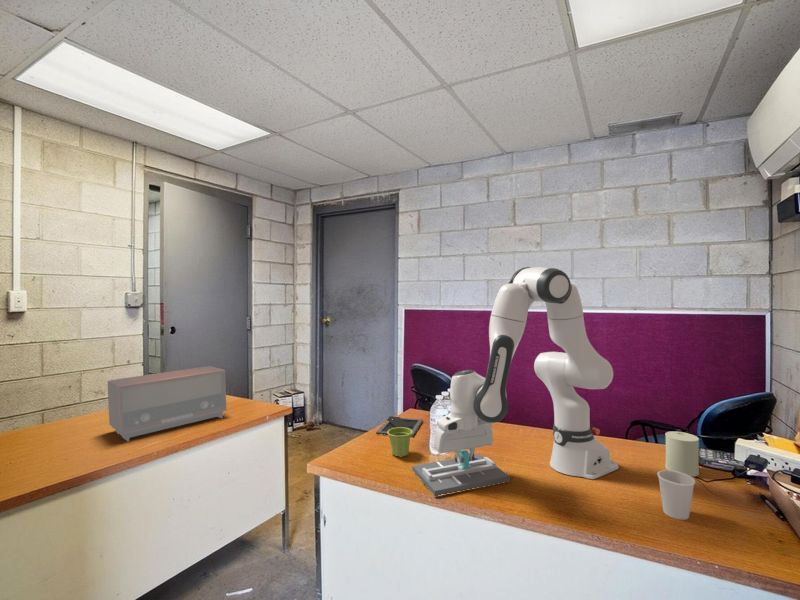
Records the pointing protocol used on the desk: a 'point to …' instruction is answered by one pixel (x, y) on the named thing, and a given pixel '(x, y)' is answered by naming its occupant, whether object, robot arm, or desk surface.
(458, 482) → the console
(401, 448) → the plant pot
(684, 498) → the dixie cup
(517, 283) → the robot arm
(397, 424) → the picture frame
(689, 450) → the can
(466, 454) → the fader
